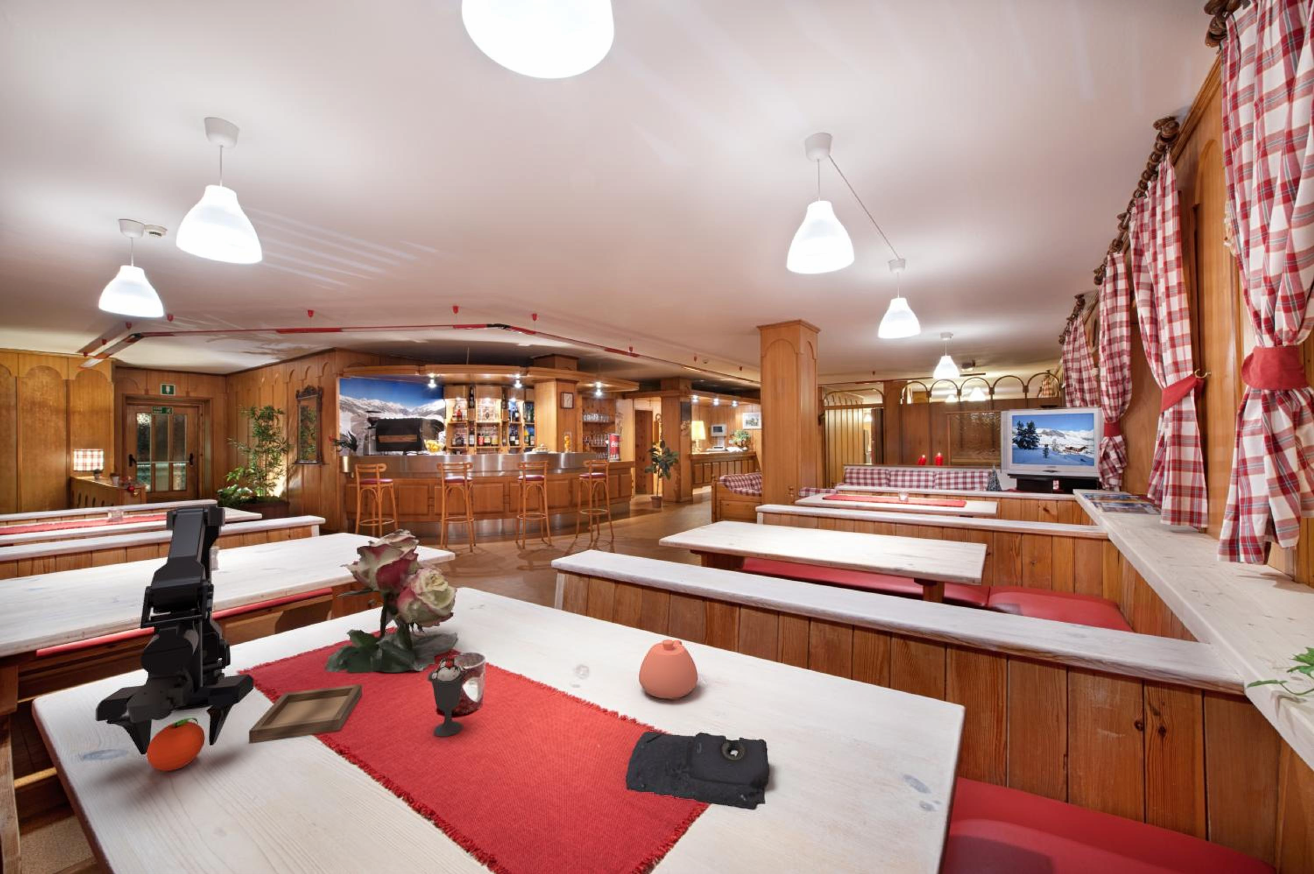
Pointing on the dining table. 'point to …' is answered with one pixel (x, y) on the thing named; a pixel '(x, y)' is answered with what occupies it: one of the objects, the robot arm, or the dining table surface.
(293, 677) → the dining table surface
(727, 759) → the black grommet pouch
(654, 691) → the sugar bowl
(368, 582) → the rose bouquet
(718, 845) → the dining table surface
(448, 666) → the sundae
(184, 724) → the clementine
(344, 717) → the walnut dish
